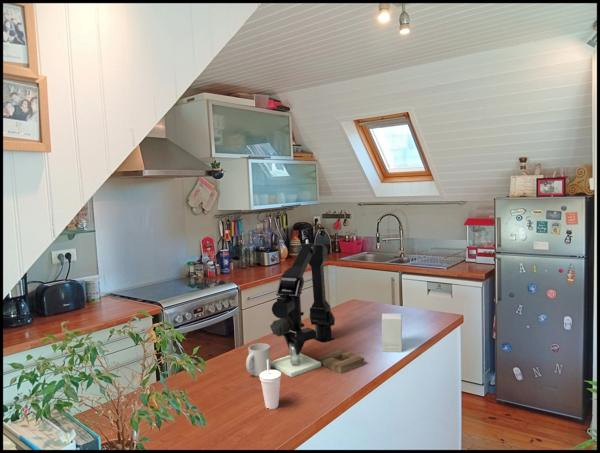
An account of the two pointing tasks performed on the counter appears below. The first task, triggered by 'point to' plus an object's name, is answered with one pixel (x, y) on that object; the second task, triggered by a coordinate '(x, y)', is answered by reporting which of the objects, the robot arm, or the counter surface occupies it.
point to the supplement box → (391, 333)
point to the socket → (342, 361)
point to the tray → (295, 365)
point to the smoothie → (270, 386)
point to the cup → (258, 358)
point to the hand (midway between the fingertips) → (294, 353)
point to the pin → (293, 353)
